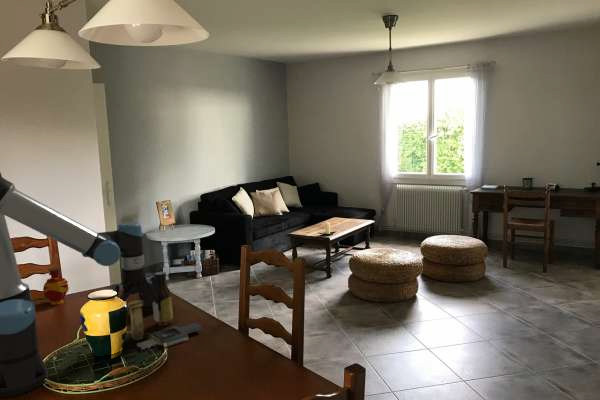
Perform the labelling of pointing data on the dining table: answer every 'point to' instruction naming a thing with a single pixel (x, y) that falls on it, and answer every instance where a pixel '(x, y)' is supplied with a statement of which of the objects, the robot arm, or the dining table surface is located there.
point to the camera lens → (145, 298)
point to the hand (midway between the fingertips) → (137, 325)
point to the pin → (136, 318)
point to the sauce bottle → (165, 304)
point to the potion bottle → (55, 287)
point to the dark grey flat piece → (178, 333)
